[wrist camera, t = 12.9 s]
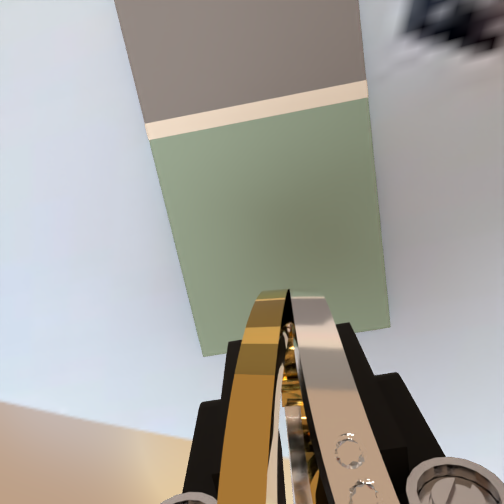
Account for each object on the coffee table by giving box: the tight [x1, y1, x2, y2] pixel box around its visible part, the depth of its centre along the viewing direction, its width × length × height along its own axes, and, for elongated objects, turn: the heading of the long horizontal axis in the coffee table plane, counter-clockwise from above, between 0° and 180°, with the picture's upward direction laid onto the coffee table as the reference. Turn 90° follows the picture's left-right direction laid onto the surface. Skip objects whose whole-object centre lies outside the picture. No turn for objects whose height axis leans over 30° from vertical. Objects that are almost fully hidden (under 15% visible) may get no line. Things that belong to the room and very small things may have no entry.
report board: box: [114, 0, 390, 357], centre depth 21 cm, size 11×26×1 cm, turn 11°
